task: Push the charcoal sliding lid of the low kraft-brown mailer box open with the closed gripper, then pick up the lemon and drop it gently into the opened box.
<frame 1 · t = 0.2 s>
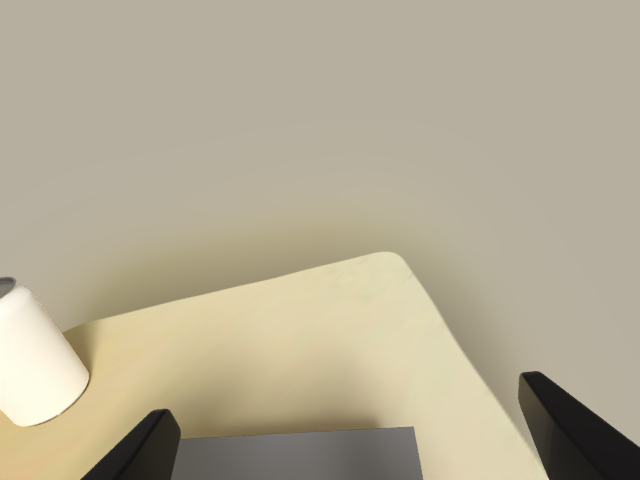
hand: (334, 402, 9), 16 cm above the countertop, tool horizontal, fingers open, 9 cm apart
can: (55, 398, 34), on the countertop
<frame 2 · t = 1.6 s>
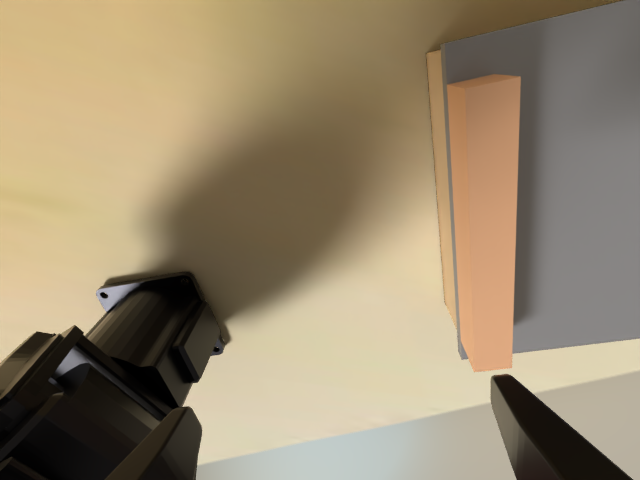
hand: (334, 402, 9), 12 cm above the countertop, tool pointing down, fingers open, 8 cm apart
mailer box: (577, 171, 18), on the countertop
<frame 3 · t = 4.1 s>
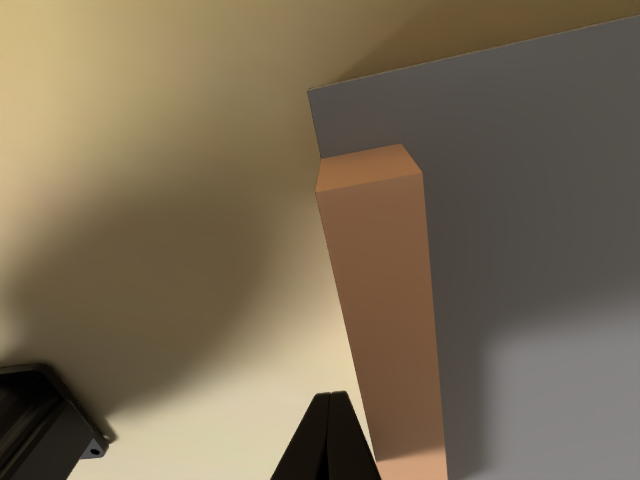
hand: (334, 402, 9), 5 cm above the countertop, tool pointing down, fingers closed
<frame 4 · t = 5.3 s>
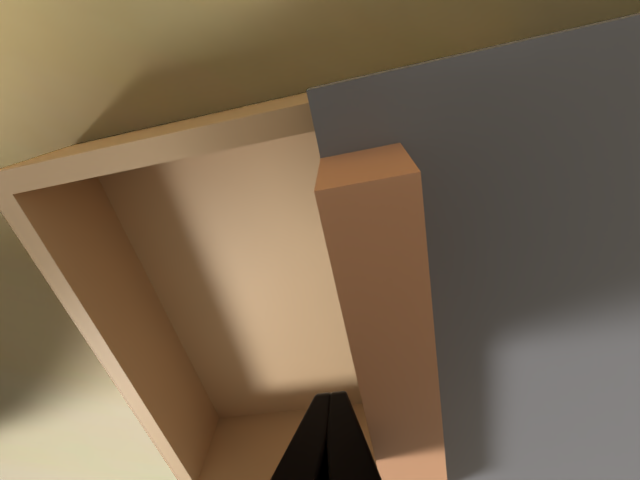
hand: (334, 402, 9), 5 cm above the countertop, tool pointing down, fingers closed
mailer box: (320, 286, 14), on the countertop
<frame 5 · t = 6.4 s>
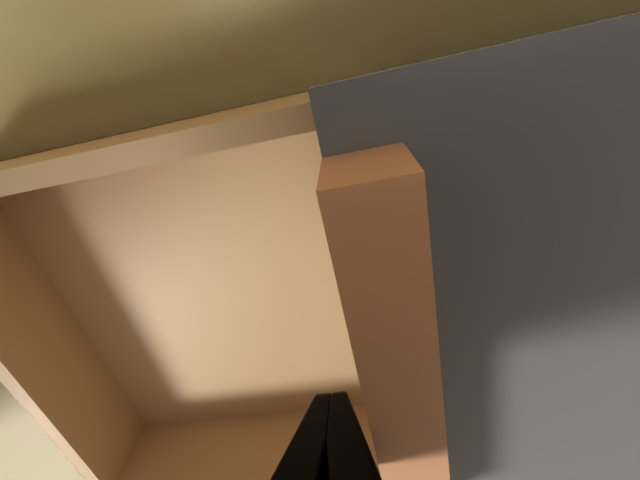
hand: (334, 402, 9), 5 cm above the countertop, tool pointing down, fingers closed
mailer box: (227, 301, 14), on the countertop
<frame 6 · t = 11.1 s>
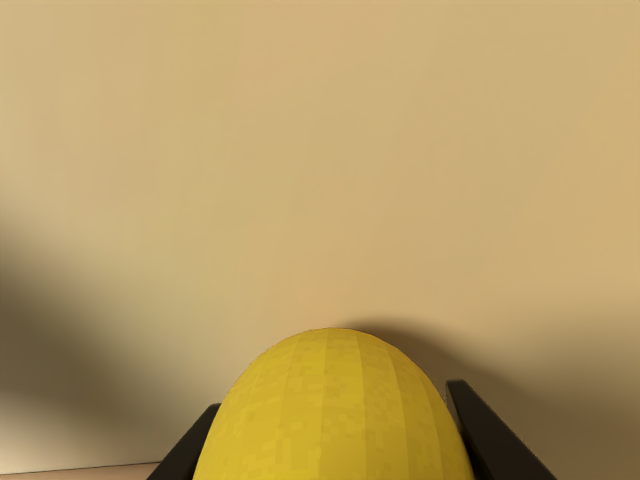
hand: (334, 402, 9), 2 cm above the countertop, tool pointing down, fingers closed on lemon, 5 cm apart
lemon: (335, 340, 11), on the countertop, touching gripper
when the fingers open (4 cm above the countertop, at t = 16.0 s): lemon drops 2 cm, resting on mailer box.
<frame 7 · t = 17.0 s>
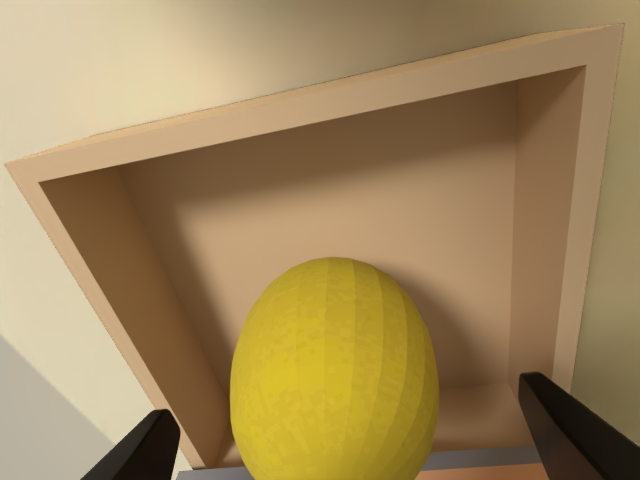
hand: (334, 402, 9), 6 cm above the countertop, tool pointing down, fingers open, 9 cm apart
lemon: (335, 280, 14), resting on mailer box
mailer box: (336, 277, 14), on the countertop
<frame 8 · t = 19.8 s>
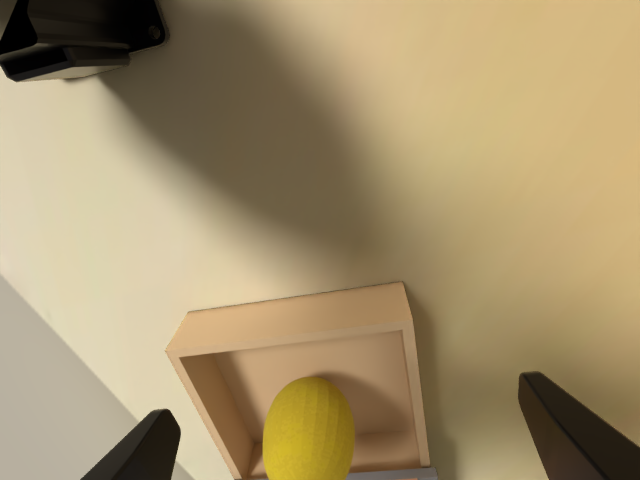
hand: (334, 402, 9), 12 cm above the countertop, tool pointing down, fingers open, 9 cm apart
lemon: (313, 377, 25), resting on mailer box
mailer box: (314, 375, 26), on the countertop
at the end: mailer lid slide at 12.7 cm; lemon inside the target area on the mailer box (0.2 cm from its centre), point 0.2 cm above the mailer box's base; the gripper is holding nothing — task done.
